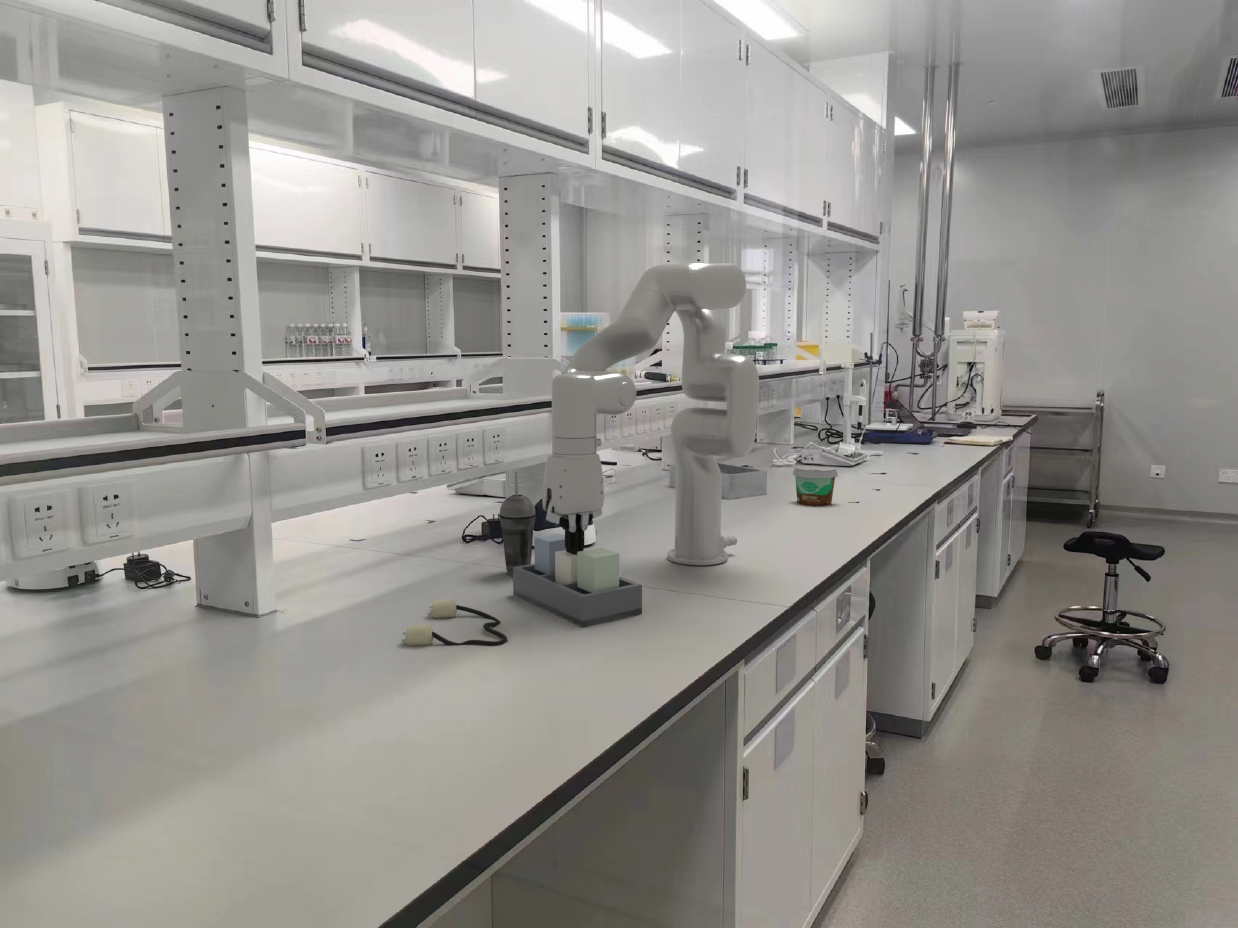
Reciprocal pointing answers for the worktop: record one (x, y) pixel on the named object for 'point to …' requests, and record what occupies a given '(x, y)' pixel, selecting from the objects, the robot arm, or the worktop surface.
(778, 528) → the worktop surface
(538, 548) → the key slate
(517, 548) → the beverage cup
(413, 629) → the cable
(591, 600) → the box
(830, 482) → the food container
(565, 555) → the key ivory
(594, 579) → the key sage
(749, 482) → the grey storage bin
